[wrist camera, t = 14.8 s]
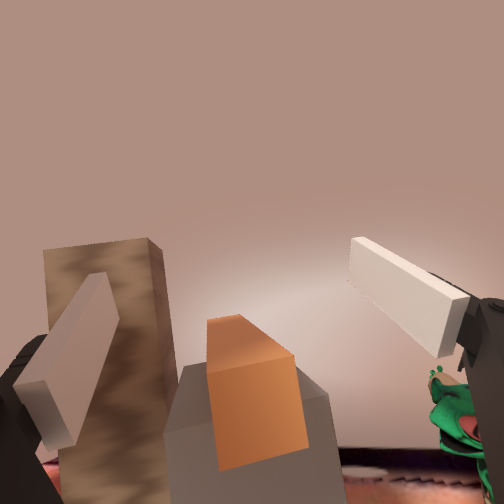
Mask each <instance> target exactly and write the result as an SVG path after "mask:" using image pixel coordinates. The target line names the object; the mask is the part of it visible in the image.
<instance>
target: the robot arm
mask: <svg viewBox="0 0 504 504" xmlns="http://www.w3.org/2000/svg"><path fill="white" fill-rule="evenodd" d="M348 281H349V282H350V283H351V284H352V285H353V286H354V287H355V288H357V289H358V290H359V291H360V292H361V293H362V294H364V295H365V296H366V297H367V298H368V299H369V300H370V301H371V302H372V303H374V304H375V305H376V306H377V307H378V308H379V309H381V310H382V311H383V312H384V313H385V314H386V315H387V316H388V317H390V318H391V319H392V320H393V321H394V322H395V323H396V324H398V325H399V326H400V327H401V328H402V329H403V330H404V331H406V332H407V333H408V334H409V335H410V336H411V337H412V338H413V339H415V340H416V341H417V342H418V343H419V344H420V345H421V346H423V347H424V348H425V349H426V350H427V351H428V352H429V353H430V354H432V355H433V356H434V357H435V358H436V359H437V358H441V357H445V356H450V355H452V354H453V352H454V348H455V345H456V342H457V343H458V344H460V345H461V346H462V347H464V351H463V354H462V357H461V360H460V363H459V366H458V371H459V372H461V370H462V368H464V367H465V371H466V376H467V380H468V385H469V389H470V394H471V398H472V403H473V407H474V412H475V416H476V420H477V425H478V429H479V434H480V438H481V443H482V447H483V452H484V456H485V461H486V465H487V470H488V474H489V479H490V483H491V488H492V492H493V497H494V501H495V504H504V300H501V299H497V298H483V299H479V298H477V297H475V296H473V295H472V294H469V293H468V292H466V291H464V290H462V289H461V288H459V287H457V286H455V285H452V283H450V282H448V281H444V279H442V278H441V277H439V276H437V275H435V274H433V273H430V272H427V271H424V270H423V269H421V268H419V267H417V266H415V265H414V264H412V263H410V262H408V261H406V260H405V259H403V258H401V257H399V256H397V255H396V254H394V253H392V252H390V251H389V250H387V249H385V248H383V247H381V246H380V245H378V244H376V243H374V242H372V241H371V240H369V239H367V238H365V237H357V238H352V239H351V250H350V260H349V270H348ZM119 319H120V318H119V315H118V311H117V308H116V304H115V301H114V297H113V294H112V291H111V287H110V284H109V280H108V277H107V273H106V272H101V273H93V274H89V275H88V276H87V278H86V279H85V281H84V282H83V284H82V285H81V286H80V288H79V289H78V291H77V292H76V294H75V295H74V297H73V298H72V300H71V301H70V303H69V304H68V306H67V307H66V308H65V310H64V311H63V313H62V314H61V316H60V317H59V319H58V320H57V322H56V323H55V325H54V326H53V327H52V329H51V330H50V332H49V333H48V334H45V335H40V336H37V337H35V338H34V339H33V340H31V341H30V342H29V343H27V344H26V345H25V346H24V347H23V348H22V350H21V351H20V352H19V354H18V355H17V356H16V359H14V360H13V362H12V363H11V364H10V366H9V368H8V369H6V371H5V372H4V374H3V375H2V376H1V377H0V504H64V502H63V501H62V499H61V497H60V495H59V494H58V492H57V490H56V489H55V487H54V485H53V483H52V482H51V480H50V478H49V477H48V475H47V473H46V471H45V470H44V468H43V466H42V465H41V463H40V461H39V459H38V458H37V456H36V454H35V452H36V450H37V447H38V446H39V443H40V441H41V440H42V442H43V444H44V446H45V447H46V449H47V451H48V452H49V451H54V450H58V449H62V448H66V447H70V446H75V445H76V442H77V439H78V436H79V434H80V431H81V428H82V425H83V422H84V419H85V416H86V413H87V411H88V408H89V405H90V402H91V399H92V396H93V393H94V391H95V388H96V385H97V382H98V379H99V376H100V373H101V370H102V368H103V365H104V362H105V359H106V356H107V353H108V350H109V347H110V345H111V342H112V339H113V336H114V333H115V330H116V327H117V325H118V322H119Z"/></svg>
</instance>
